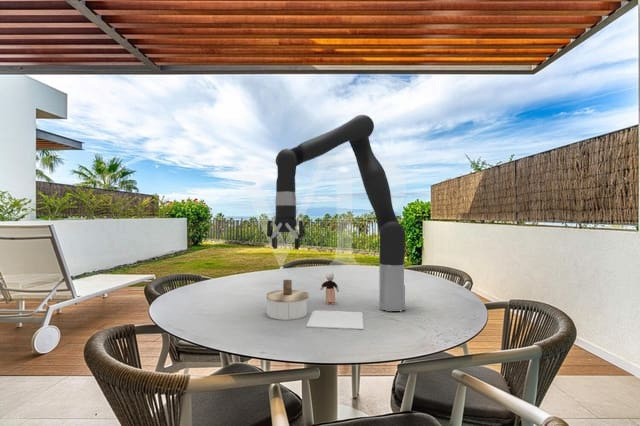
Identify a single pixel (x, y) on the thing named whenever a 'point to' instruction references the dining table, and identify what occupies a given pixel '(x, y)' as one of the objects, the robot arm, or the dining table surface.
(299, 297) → the lid
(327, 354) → the dining table surface
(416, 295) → the dining table surface
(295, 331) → the dining table surface
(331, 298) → the grandmother figurine
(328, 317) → the mat
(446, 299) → the dining table surface
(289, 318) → the bowl
